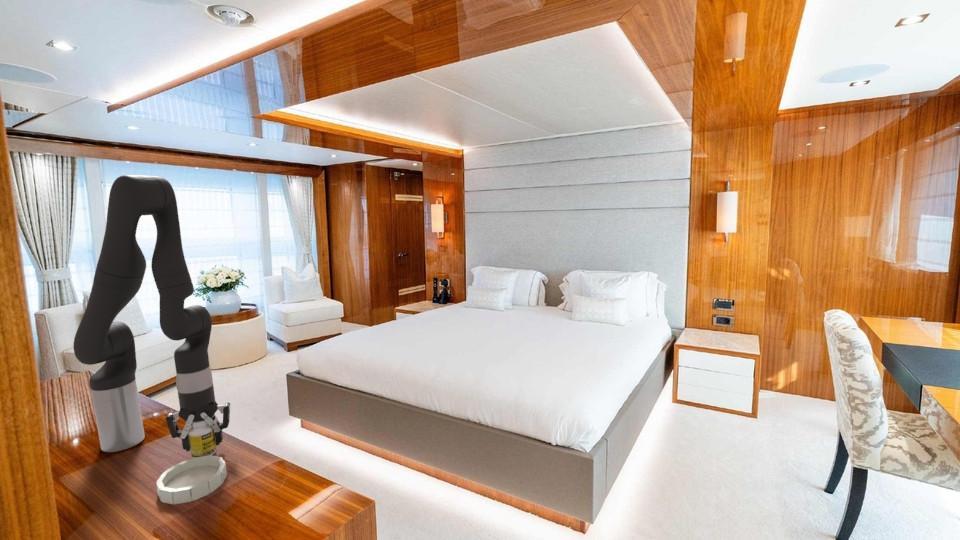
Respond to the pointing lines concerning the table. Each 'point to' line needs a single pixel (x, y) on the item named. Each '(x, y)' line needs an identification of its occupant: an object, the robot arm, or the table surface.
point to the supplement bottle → (202, 439)
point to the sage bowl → (191, 479)
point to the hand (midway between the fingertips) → (203, 446)
